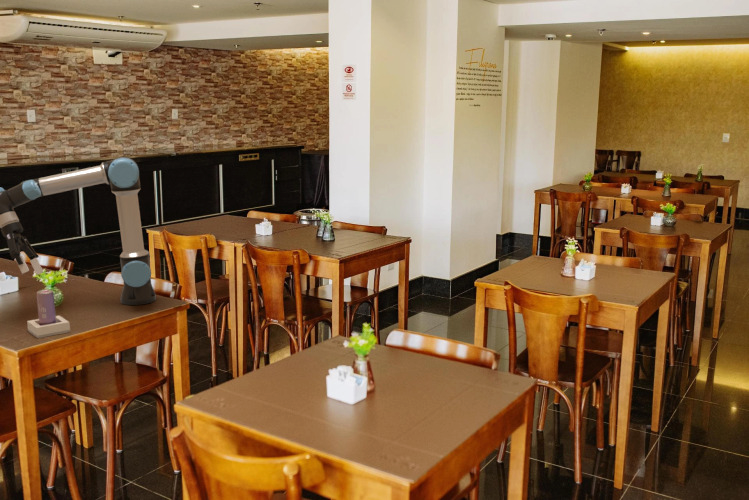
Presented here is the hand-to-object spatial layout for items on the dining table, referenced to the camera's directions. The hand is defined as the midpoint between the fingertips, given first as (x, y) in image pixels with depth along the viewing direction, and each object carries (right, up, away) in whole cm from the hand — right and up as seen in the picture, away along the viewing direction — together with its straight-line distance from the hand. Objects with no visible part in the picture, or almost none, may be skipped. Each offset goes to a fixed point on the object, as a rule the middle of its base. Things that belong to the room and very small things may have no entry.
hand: (33, 272), depth 291 cm
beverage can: (+9, -22, -8) cm, 25 cm away
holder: (+10, -22, -7) cm, 25 cm away
